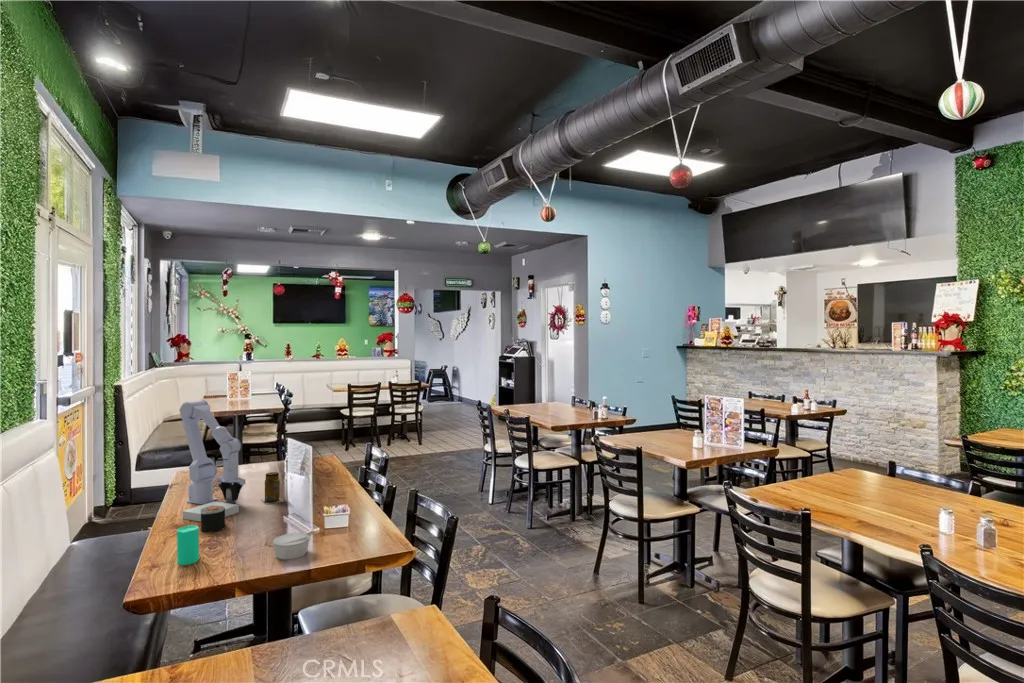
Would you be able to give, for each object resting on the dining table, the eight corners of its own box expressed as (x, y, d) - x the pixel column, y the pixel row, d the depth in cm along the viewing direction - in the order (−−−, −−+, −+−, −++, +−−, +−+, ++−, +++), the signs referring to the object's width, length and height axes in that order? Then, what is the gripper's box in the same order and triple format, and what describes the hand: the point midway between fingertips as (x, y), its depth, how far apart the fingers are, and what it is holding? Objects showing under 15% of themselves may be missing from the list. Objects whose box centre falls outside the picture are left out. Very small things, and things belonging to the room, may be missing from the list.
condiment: (278, 497, 246) (277, 470, 246) (284, 501, 240) (283, 474, 240) (260, 500, 242) (260, 473, 242) (266, 504, 235) (266, 476, 235)
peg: (223, 505, 235) (223, 488, 235) (231, 502, 239) (231, 486, 239) (230, 506, 234) (230, 489, 234) (238, 503, 237) (238, 487, 237)
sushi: (225, 523, 212) (225, 502, 212) (224, 530, 204) (224, 508, 204) (201, 526, 208) (201, 505, 208) (199, 533, 201) (199, 512, 200)
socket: (182, 518, 217) (182, 511, 217) (213, 508, 230) (213, 501, 230) (208, 522, 212) (208, 515, 212) (238, 512, 225) (238, 504, 225)
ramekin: (297, 562, 174) (297, 546, 174) (265, 560, 176) (265, 543, 176) (316, 549, 185) (316, 533, 185) (285, 547, 187) (285, 531, 187)
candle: (183, 557, 179) (182, 520, 178) (202, 557, 179) (202, 520, 179) (173, 565, 173) (173, 527, 173) (193, 564, 173) (193, 526, 173)
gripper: (210, 468, 235) (210, 500, 235) (235, 471, 230) (236, 504, 230) (224, 465, 242) (224, 496, 242) (249, 467, 236) (249, 499, 236)
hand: (231, 499), depth 236 cm, fingers closed on peg, 4 cm apart
